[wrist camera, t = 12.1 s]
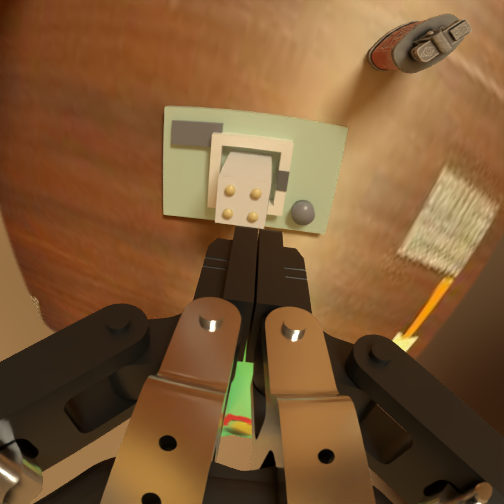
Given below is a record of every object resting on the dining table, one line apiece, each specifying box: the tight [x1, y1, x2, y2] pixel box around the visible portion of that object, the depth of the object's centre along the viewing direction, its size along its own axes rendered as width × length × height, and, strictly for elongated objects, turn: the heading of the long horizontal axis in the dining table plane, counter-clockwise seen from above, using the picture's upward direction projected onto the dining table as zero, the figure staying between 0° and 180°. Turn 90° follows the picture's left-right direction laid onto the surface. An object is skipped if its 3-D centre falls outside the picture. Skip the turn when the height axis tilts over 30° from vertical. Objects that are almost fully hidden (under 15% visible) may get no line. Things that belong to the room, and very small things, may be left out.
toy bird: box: [221, 342, 253, 438], centre depth 42 cm, size 18×17×15 cm
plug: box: [215, 150, 272, 229], centre depth 28 cm, size 4×4×8 cm
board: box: [163, 106, 348, 234], centre depth 31 cm, size 18×12×3 cm, turn 84°
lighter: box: [367, 14, 472, 73], centre depth 19 cm, size 8×3×10 cm, turn 133°
